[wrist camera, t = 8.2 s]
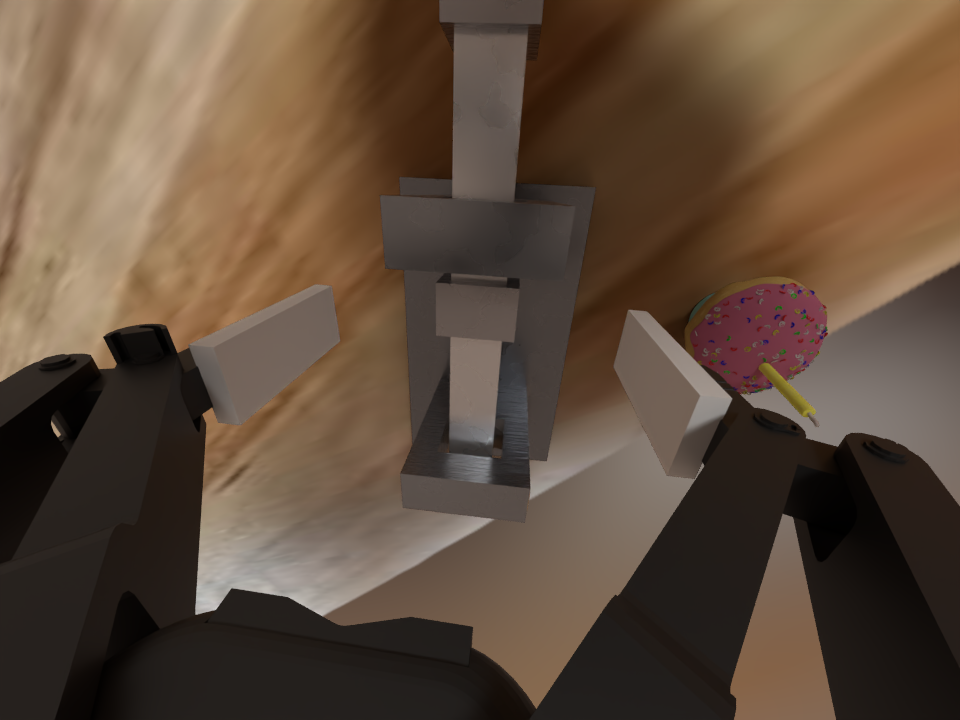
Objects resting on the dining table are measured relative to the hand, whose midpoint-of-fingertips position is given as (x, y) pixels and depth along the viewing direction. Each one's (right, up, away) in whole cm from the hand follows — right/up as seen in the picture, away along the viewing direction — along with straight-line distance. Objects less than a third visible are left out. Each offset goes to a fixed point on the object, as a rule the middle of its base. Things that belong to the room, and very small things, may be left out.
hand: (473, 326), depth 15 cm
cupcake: (+20, +2, +13) cm, 24 cm away
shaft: (+1, +4, +7) cm, 8 cm away
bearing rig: (+1, +1, +16) cm, 16 cm away
